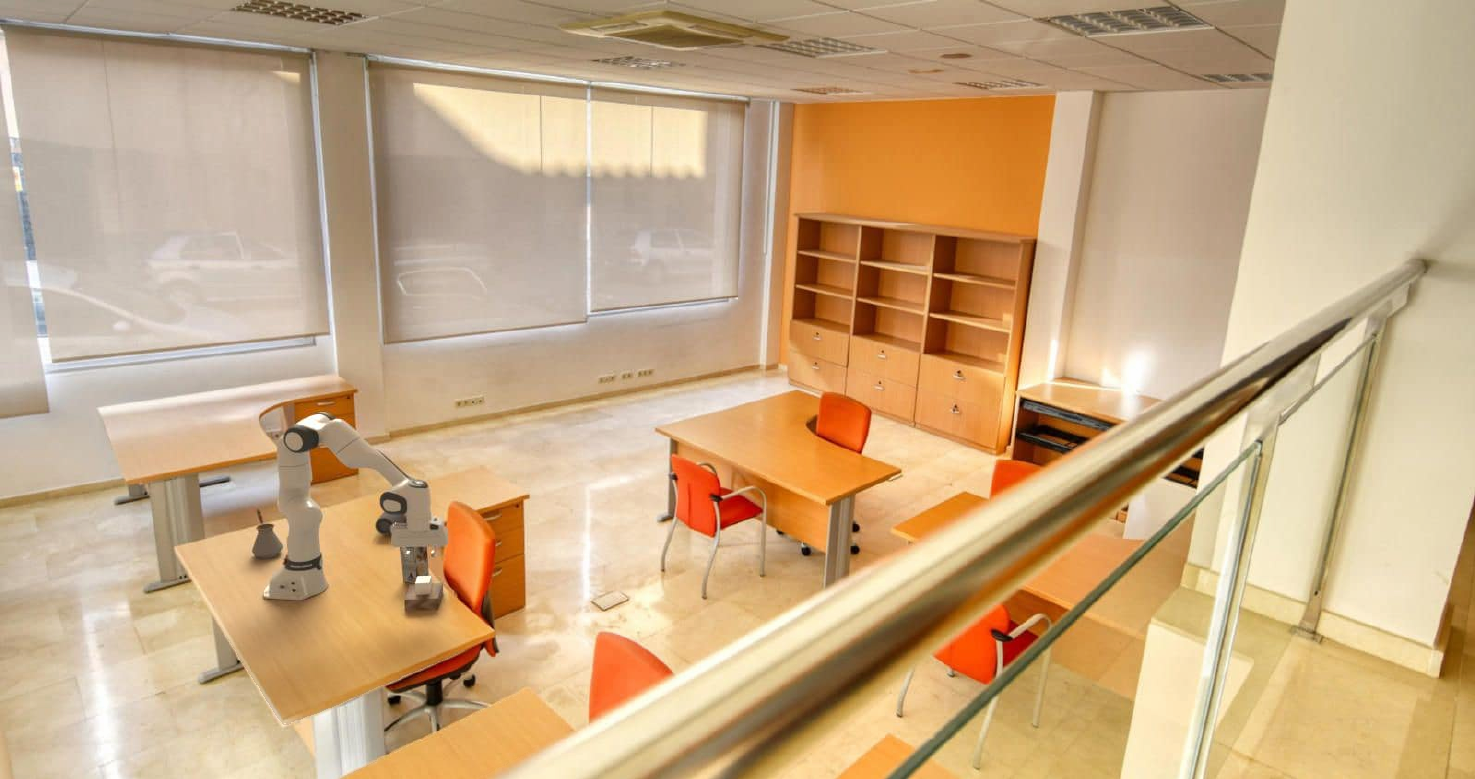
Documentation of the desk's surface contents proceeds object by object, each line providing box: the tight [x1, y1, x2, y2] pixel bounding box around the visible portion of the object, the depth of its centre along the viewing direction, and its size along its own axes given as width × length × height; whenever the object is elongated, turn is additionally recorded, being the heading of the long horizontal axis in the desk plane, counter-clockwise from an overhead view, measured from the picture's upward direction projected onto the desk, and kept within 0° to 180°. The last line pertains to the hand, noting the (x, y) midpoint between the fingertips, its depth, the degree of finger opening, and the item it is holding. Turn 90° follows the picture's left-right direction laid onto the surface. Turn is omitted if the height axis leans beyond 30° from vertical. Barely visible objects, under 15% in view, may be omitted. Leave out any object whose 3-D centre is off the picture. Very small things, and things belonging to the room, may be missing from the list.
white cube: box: [414, 575, 432, 595], centre depth 332 cm, size 5×5×5 cm
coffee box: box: [399, 547, 429, 584], centre depth 350 cm, size 9×6×16 cm
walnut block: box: [403, 582, 444, 612], centre depth 333 cm, size 12×12×5 cm
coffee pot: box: [251, 508, 284, 560], centre depth 367 cm, size 21×12×15 cm, turn 37°
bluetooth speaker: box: [374, 511, 406, 536], centre depth 394 cm, size 23×9×10 cm, turn 179°
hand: (420, 556), depth 328 cm, fingers open, 8 cm apart
